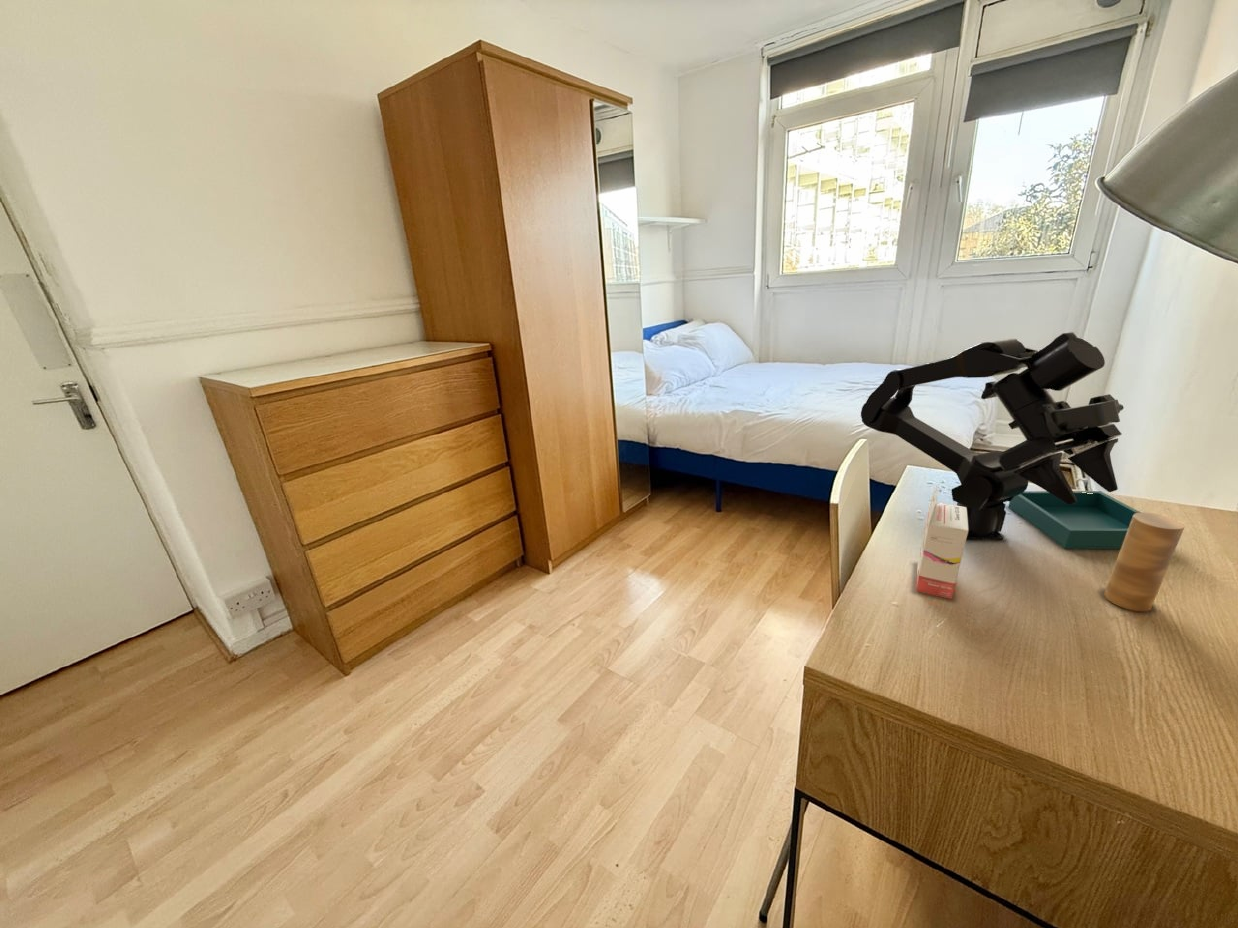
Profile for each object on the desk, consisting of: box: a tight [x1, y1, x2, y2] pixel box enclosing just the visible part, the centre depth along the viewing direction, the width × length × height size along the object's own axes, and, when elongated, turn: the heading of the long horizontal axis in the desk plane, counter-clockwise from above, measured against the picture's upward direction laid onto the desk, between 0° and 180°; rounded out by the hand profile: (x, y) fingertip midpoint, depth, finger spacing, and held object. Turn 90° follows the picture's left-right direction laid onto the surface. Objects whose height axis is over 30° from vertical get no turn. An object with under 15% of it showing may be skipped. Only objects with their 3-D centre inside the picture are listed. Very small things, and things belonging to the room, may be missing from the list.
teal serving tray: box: [1007, 490, 1142, 550], centre depth 89 cm, size 16×16×4 cm
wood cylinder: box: [1104, 512, 1186, 612], centre depth 68 cm, size 5×5×13 cm
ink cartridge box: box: [916, 485, 968, 600], centre depth 74 cm, size 9×5×15 cm, turn 149°
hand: (1093, 497), depth 72 cm, fingers open, 9 cm apart
